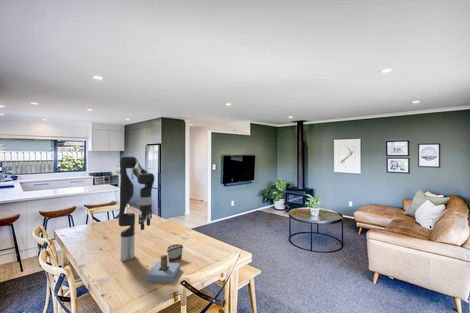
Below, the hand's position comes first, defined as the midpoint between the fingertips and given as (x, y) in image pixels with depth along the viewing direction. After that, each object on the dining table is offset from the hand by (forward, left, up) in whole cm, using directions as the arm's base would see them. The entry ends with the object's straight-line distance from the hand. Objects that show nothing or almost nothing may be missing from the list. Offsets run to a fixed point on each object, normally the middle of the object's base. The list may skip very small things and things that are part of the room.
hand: (145, 227), depth 154 cm
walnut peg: (+5, +15, -28) cm, 32 cm away
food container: (-16, +14, -28) cm, 35 cm away
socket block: (+5, +15, -28) cm, 32 cm away
